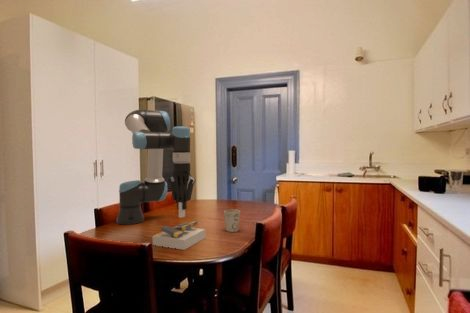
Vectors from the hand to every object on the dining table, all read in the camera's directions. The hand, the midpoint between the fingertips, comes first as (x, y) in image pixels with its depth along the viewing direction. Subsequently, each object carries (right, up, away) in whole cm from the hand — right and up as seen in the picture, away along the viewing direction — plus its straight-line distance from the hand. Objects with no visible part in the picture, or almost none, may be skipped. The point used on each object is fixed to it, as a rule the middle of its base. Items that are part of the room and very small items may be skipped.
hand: (181, 216), depth 128 cm
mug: (+21, -12, +24) cm, 34 cm away
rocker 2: (-2, -6, +4) cm, 8 cm away
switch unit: (-2, -12, +5) cm, 13 cm away
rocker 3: (+1, -6, +10) cm, 12 cm away
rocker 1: (-4, -6, -1) cm, 7 cm away
